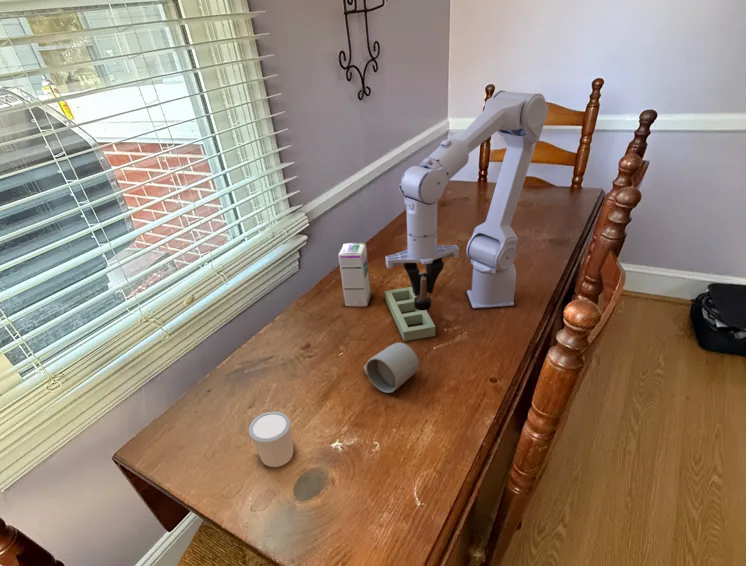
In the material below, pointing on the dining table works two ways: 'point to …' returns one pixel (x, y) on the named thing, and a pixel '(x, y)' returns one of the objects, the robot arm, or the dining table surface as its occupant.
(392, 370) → the ceramic mug
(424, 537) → the dining table surface
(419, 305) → the silver rounded cylinder
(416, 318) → the rack
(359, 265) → the syrup box
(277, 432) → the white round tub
